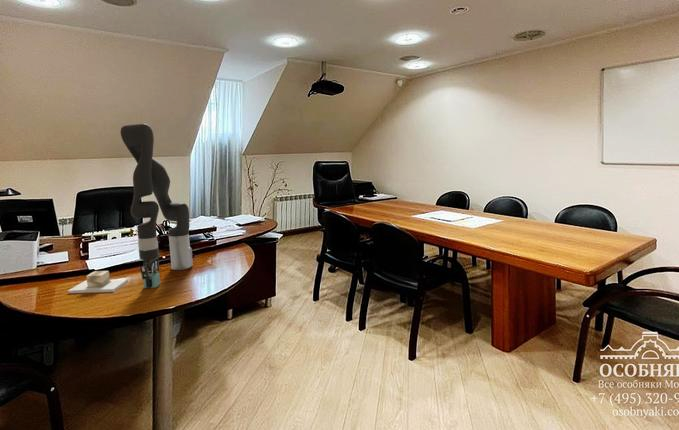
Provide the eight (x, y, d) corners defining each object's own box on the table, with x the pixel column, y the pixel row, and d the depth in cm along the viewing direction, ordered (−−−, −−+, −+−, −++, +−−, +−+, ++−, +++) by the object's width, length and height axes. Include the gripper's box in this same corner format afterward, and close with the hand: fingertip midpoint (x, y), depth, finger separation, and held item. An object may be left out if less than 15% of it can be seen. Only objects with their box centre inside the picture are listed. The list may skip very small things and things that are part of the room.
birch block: (110, 281, 160) (108, 270, 159) (102, 286, 154) (101, 275, 153) (95, 282, 159) (94, 271, 158) (87, 287, 153) (86, 275, 152)
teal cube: (160, 283, 161) (159, 272, 161) (155, 287, 156) (154, 276, 156) (148, 283, 161) (147, 273, 160) (143, 287, 156) (142, 276, 155)
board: (127, 281, 163) (127, 278, 163) (114, 291, 152) (113, 288, 151) (85, 282, 162) (85, 280, 162) (68, 293, 150) (68, 290, 150)
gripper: (146, 243, 162) (150, 279, 165) (131, 252, 148) (135, 291, 151) (164, 243, 163) (167, 278, 166) (150, 251, 149) (154, 290, 152)
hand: (152, 284), depth 159 cm, fingers closed on teal cube, 5 cm apart
